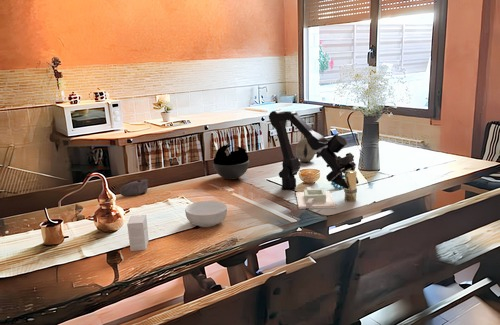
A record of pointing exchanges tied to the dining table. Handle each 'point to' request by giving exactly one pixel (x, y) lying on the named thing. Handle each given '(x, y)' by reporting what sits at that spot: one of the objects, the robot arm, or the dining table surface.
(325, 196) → the shaft mount
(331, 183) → the teal spiky figurine
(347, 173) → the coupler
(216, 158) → the coal bowl
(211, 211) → the cereal bowl
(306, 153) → the decorative egg
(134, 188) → the perforated stone tool
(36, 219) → the dining table surface
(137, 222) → the small box
